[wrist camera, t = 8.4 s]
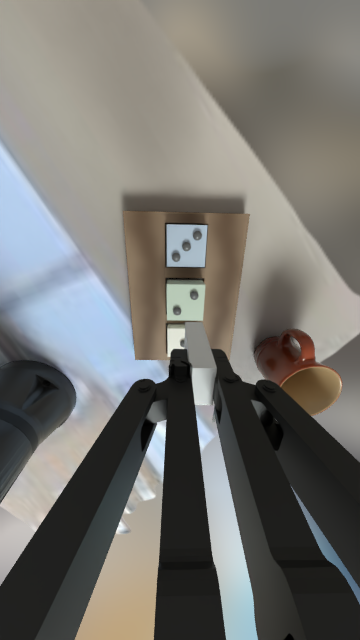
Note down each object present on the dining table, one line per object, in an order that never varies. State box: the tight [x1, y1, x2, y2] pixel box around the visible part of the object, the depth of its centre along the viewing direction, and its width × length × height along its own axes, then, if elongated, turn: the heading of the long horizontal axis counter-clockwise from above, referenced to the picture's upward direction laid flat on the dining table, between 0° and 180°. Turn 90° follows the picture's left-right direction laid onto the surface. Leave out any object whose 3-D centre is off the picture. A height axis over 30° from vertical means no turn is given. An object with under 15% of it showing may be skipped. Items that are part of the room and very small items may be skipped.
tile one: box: [167, 323, 185, 357], centre depth 31 cm, size 5×5×4 cm
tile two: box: [167, 280, 205, 321], centre depth 27 cm, size 5×5×4 cm
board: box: [123, 211, 250, 360], centre depth 29 cm, size 16×22×2 cm
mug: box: [254, 329, 342, 416], centre depth 29 cm, size 12×9×10 cm
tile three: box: [167, 224, 208, 267], centre depth 26 cm, size 5×5×4 cm
